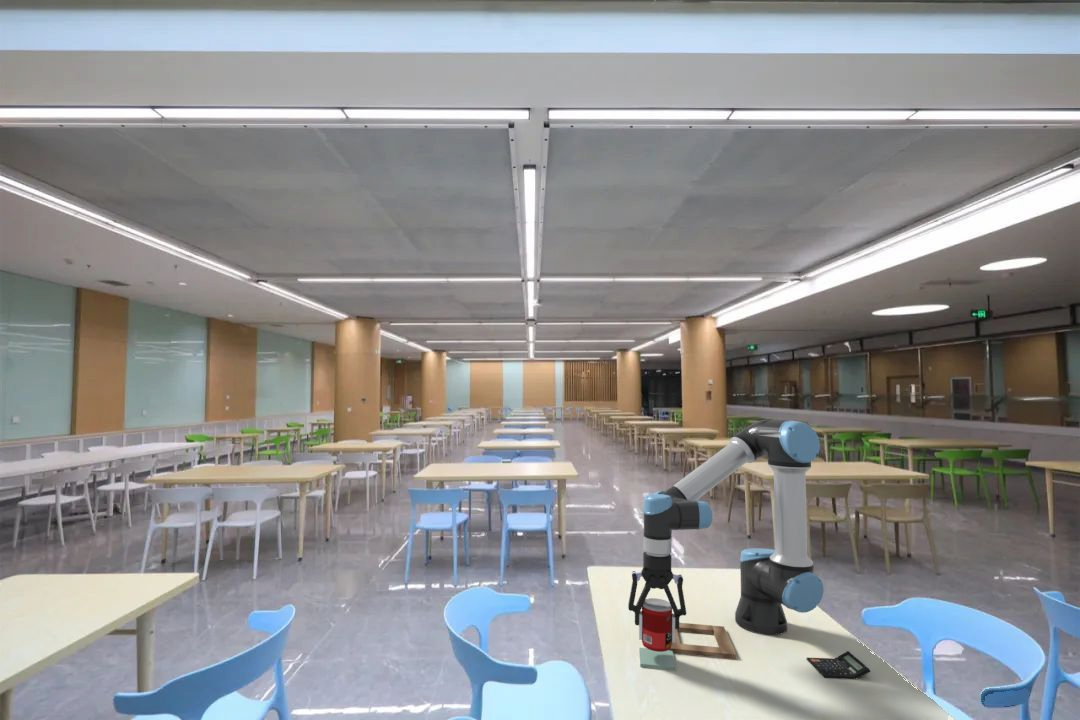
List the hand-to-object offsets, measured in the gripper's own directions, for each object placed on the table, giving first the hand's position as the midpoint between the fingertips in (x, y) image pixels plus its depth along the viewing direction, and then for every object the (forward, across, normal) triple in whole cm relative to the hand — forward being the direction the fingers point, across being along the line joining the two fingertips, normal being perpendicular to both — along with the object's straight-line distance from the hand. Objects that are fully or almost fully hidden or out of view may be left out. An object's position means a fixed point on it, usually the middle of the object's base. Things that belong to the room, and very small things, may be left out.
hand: (656, 638), depth 139 cm
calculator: (+6, -47, -5) cm, 48 cm away
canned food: (+2, 0, 0) cm, 2 cm away
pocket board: (+5, -13, -14) cm, 20 cm away
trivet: (+6, 0, 0) cm, 6 cm away
